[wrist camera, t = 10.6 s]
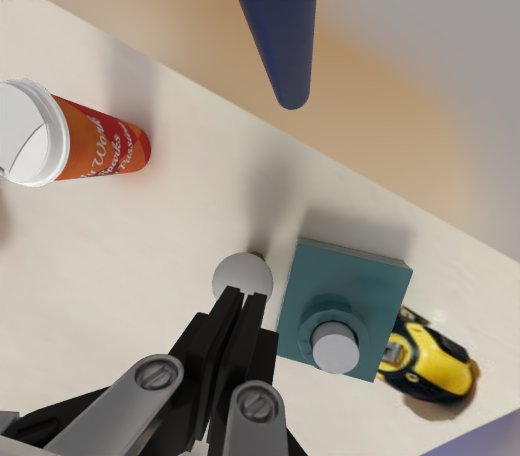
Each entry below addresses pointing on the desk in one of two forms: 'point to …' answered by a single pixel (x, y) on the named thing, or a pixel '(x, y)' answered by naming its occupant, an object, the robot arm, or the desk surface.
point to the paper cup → (62, 138)
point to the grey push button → (335, 347)
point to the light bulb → (243, 275)
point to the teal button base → (341, 301)
